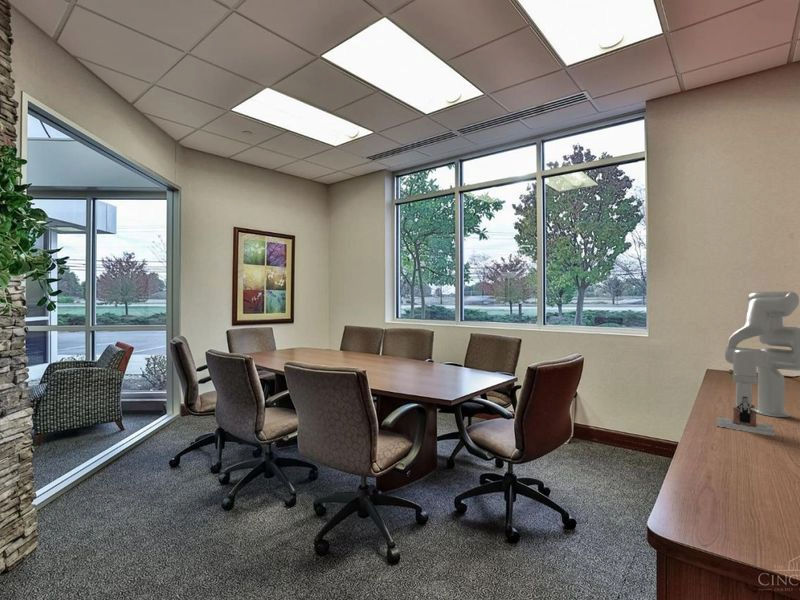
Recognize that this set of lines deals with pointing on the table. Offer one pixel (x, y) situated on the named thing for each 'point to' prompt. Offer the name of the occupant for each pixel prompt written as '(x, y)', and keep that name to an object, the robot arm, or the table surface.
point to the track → (746, 427)
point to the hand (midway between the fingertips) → (744, 419)
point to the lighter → (737, 416)
